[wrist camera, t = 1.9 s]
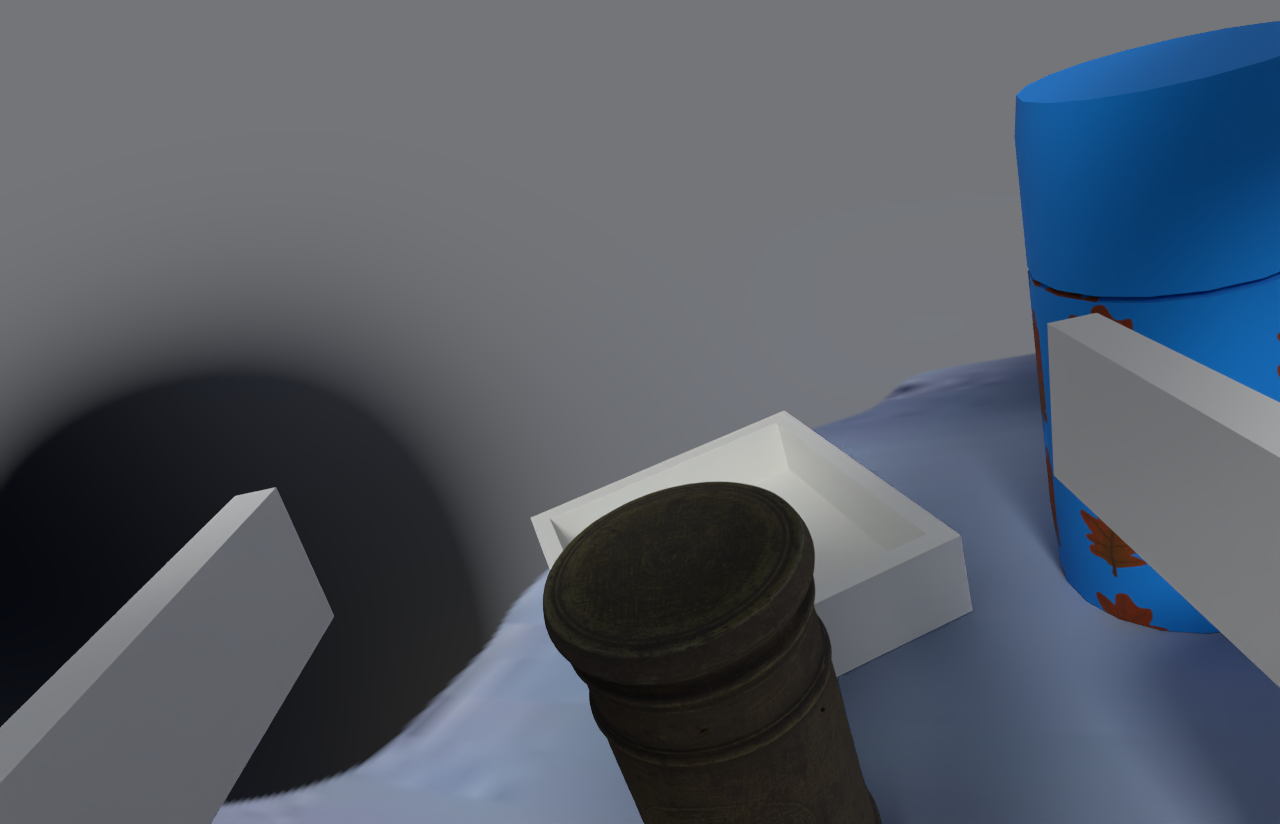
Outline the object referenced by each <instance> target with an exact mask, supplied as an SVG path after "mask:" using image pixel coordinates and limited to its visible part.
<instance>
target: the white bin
mask: <svg viewBox="0 0 1280 824" xmlns="http://www.w3.org/2000/svg"><path fill="white" fill-rule="evenodd" d="M700 482H735V483H743V484H748V485H752V486H756V487H760V488H763V489H766V490H769V491H771V492H773V493H775V494H777V495H778V496H780V497H781V498H783V499H784V500H785V501H786V502H788V503H789V504H790V505H791V506H792V507H793V508H794V509H795V510H796V512H797V513H798V514H799V515H800V517H801V518H802V519H803V521H804V522H805V524H806V526H807V528H808V530H809V532H810V534H811V537H812V540H813V544H814V550H815V567H814V573H813V576H814V581H815V601H814V607H815V611H816V613H817V614H818V616H819V617H820V619H821V620H822V622H823V623H824V625H825V627H826V629H827V632H828V635H829V638H830V642H831V648H832V662H833V666H834V670H835V673H836V677H838V676H840V675H842V674H844V673H846V672H848V671H850V670H852V669H854V668H856V667H859V666H861V665H863V664H865V663H867V662H869V661H871V660H873V659H875V658H877V657H879V656H881V655H883V654H885V653H887V652H889V651H891V650H893V649H895V648H897V647H899V646H901V645H904V644H906V643H908V642H910V641H912V640H914V639H916V638H918V637H920V636H922V635H924V634H926V633H928V632H930V631H932V630H934V629H936V628H938V627H940V626H942V625H944V624H946V623H949V622H951V621H953V620H955V619H957V618H959V617H961V616H963V615H965V614H967V613H969V612H971V611H973V609H972V603H971V596H970V590H969V583H968V577H967V571H966V564H965V558H964V551H963V545H962V538H961V535H960V534H959V533H957V532H956V531H954V530H953V529H951V528H950V527H949V526H947V525H946V524H944V523H943V522H942V521H940V520H939V519H937V518H936V517H934V516H933V515H932V514H930V513H929V512H927V511H926V510H924V509H923V508H922V507H920V506H919V505H917V504H916V503H915V502H913V501H912V500H910V499H909V498H907V497H906V496H905V495H903V494H902V493H900V492H899V491H898V490H896V489H895V488H893V487H892V486H890V485H889V484H888V483H886V482H885V481H883V480H882V479H881V478H879V477H878V476H876V475H875V474H873V473H872V472H871V471H869V470H868V469H866V468H865V467H864V466H862V465H861V464H859V463H858V462H856V461H855V460H854V459H852V458H851V457H849V456H848V455H846V454H845V453H844V452H842V451H841V450H839V449H838V448H837V447H835V446H834V445H832V444H831V443H829V442H828V441H827V440H825V439H824V438H822V437H821V436H820V435H818V434H817V433H815V432H814V431H812V430H811V429H810V428H808V427H807V426H805V425H804V424H803V423H801V422H800V421H798V420H797V419H795V418H794V417H792V416H791V415H790V414H788V413H787V412H785V411H782V412H780V413H777V414H775V415H773V416H770V417H768V418H765V419H763V420H761V421H759V422H756V423H754V424H752V425H749V426H747V427H744V428H742V429H739V430H737V431H735V432H732V433H730V434H728V435H725V436H723V437H721V438H718V439H716V440H714V441H711V442H709V443H706V444H704V445H702V446H699V447H697V448H695V449H692V450H690V451H687V452H685V453H683V454H680V455H678V456H676V457H673V458H671V459H669V460H666V461H664V462H661V463H659V464H657V465H654V466H652V467H650V468H647V469H645V470H643V471H640V472H638V473H635V474H633V475H631V476H629V477H626V478H624V479H621V480H619V481H617V482H614V483H612V484H610V485H607V486H605V487H602V488H600V489H598V490H595V491H593V492H591V493H588V494H586V495H584V496H581V497H579V498H577V499H574V500H572V501H569V502H567V503H565V504H562V505H560V506H557V507H555V508H553V509H550V510H548V511H546V512H543V513H541V514H539V515H536V516H534V517H532V518H531V520H532V523H533V526H534V528H535V531H536V534H537V536H538V539H539V542H540V544H541V547H542V550H543V553H544V555H545V558H546V560H547V563H548V566H549V569H550V570H551V568H552V566H553V564H554V563H555V561H556V560H557V558H558V557H559V555H560V554H561V553H562V551H563V550H564V549H565V548H566V546H567V545H568V544H569V543H570V542H571V541H572V540H573V539H574V538H575V537H576V536H577V535H578V534H579V533H581V532H582V531H583V530H584V529H585V528H586V527H588V526H589V525H590V524H592V523H593V522H594V521H596V520H598V519H599V518H601V517H602V516H604V515H606V514H607V513H609V512H611V511H613V510H614V509H616V508H618V507H620V506H622V505H624V504H626V503H628V502H630V501H632V500H635V499H637V498H639V497H642V496H645V495H647V494H650V493H653V492H656V491H659V490H663V489H667V488H671V487H675V486H680V485H685V484H691V483H700Z"/></svg>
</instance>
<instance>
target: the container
mask: <svg viewBox="0 0 1280 824" xmlns="http://www.w3.org/2000/svg"><path fill="white" fill-rule="evenodd" d="M814 567H815V550H814V544H813V540H812V537H811V534H810V532H809V530H808V528H807V526H806V524H805V522H804V521H803V519H802V518H801V517H800V515H799V514H798V513H797V512H796V510H795V509H794V508H793V507H792V506H791V505H790V504H789V503H788V502H786V501H785V500H784V499H783V498H781V497H780V496H778V495H777V494H775V493H773V492H771V491H769V490H766V489H763V488H760V487H756V486H752V485H748V484H743V483H735V482H700V483H691V484H685V485H680V486H675V487H671V488H667V489H663V490H659V491H656V492H653V493H650V494H647V495H645V496H642V497H639V498H637V499H635V500H632V501H630V502H628V503H626V504H624V505H622V506H620V507H618V508H616V509H614V510H613V511H611V512H609V513H607V514H606V515H604V516H602V517H601V518H599V519H598V520H596V521H594V522H593V523H592V524H590V525H589V526H588V527H586V528H585V529H584V530H583V531H582V532H581V533H579V534H578V535H577V536H576V537H575V538H574V539H573V540H572V541H571V542H570V543H569V544H568V545H567V546H566V548H565V549H564V550H563V551H562V553H561V554H560V555H559V557H558V558H557V560H556V561H555V563H554V564H553V566H552V568H551V570H550V572H549V575H548V577H547V580H546V584H545V588H544V594H543V612H544V620H545V625H546V629H547V631H548V634H549V637H550V639H551V640H552V642H553V644H554V645H555V647H556V648H557V650H558V651H559V652H560V653H561V654H562V655H563V656H564V657H565V658H566V659H567V660H568V661H569V662H570V663H571V665H572V666H573V668H574V670H575V671H576V673H577V675H578V676H579V677H580V678H581V679H582V680H583V681H584V682H585V683H586V684H587V685H588V688H589V700H590V706H591V710H592V714H593V717H594V719H595V721H596V723H597V725H598V727H599V729H600V730H601V731H602V733H603V734H604V735H605V736H606V737H607V739H608V741H609V744H610V747H611V749H612V751H613V753H614V756H615V758H616V760H617V763H618V765H619V767H620V769H621V772H622V774H623V776H624V779H625V781H626V783H627V785H628V788H629V790H630V792H631V794H632V797H633V799H634V801H635V803H636V806H637V808H638V811H639V813H640V815H641V818H642V820H643V822H644V824H882V823H881V819H880V815H879V812H878V809H877V806H876V804H875V801H874V799H873V797H872V795H871V794H870V792H869V791H868V789H867V787H866V786H865V782H864V779H863V776H862V773H861V769H860V765H859V761H858V757H857V754H856V750H855V746H854V742H853V739H852V735H851V732H850V728H849V724H848V720H847V716H846V712H845V708H844V704H843V700H842V696H841V692H840V688H839V684H838V680H837V677H836V673H835V670H834V666H833V662H832V648H831V642H830V638H829V635H828V632H827V629H826V627H825V625H824V623H823V622H822V620H821V619H820V617H819V616H818V614H817V613H816V611H815V607H814V601H815V581H814V576H813V573H814Z"/></svg>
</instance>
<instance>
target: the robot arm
mask: <svg viewBox="0 0 1280 824" xmlns="http://www.w3.org/2000/svg"><path fill="white" fill-rule="evenodd" d="M1047 327H1048V350H1049V374H1050V397H1051V421H1052V444H1053V468H1054V476H1055V477H1056V478H1057V479H1058V480H1059V481H1060V482H1061V483H1063V484H1064V485H1065V486H1066V487H1067V488H1068V489H1069V490H1070V491H1071V492H1072V493H1073V494H1074V495H1075V496H1076V497H1077V498H1078V499H1080V500H1081V501H1082V502H1083V503H1084V504H1085V505H1086V506H1087V507H1088V508H1089V509H1090V510H1091V511H1092V512H1093V513H1094V514H1095V515H1097V516H1098V517H1099V518H1100V519H1101V520H1102V521H1103V522H1104V523H1105V524H1106V525H1107V526H1108V527H1109V528H1110V529H1111V530H1112V531H1114V532H1115V533H1116V534H1117V535H1118V536H1119V537H1120V538H1121V539H1122V540H1123V541H1124V542H1125V543H1126V544H1127V545H1128V546H1130V547H1131V548H1132V549H1133V550H1134V551H1135V552H1136V553H1137V554H1138V555H1139V556H1140V557H1141V558H1142V559H1143V560H1144V561H1145V562H1147V563H1148V564H1149V565H1150V566H1151V567H1152V568H1153V569H1154V570H1155V571H1156V572H1157V573H1158V574H1159V575H1160V576H1161V577H1162V578H1164V579H1165V580H1166V581H1167V582H1168V583H1169V584H1170V585H1171V586H1172V587H1173V588H1174V589H1175V590H1176V591H1177V592H1178V593H1179V594H1181V595H1182V596H1183V597H1184V598H1185V599H1186V600H1187V601H1188V602H1189V603H1190V604H1191V605H1192V606H1193V607H1194V608H1195V609H1196V610H1198V611H1199V612H1200V613H1201V614H1202V615H1203V616H1204V617H1205V618H1206V619H1207V620H1208V621H1209V622H1210V623H1211V624H1212V625H1213V626H1215V627H1216V628H1217V629H1218V630H1219V631H1220V632H1221V633H1222V634H1223V635H1224V636H1225V637H1226V638H1227V639H1228V640H1229V641H1230V642H1232V643H1233V644H1234V645H1235V646H1236V647H1237V648H1238V649H1239V650H1240V651H1241V652H1242V653H1243V654H1244V655H1245V656H1246V657H1248V658H1249V659H1250V660H1251V661H1252V662H1253V663H1254V664H1255V665H1256V666H1257V667H1258V668H1259V669H1260V670H1261V671H1262V672H1263V673H1265V674H1266V675H1267V676H1268V677H1269V678H1270V679H1271V680H1272V681H1273V682H1274V683H1275V684H1276V685H1277V686H1278V687H1279V688H1280V402H1278V401H1276V400H1274V399H1272V398H1270V397H1268V396H1265V395H1263V394H1261V393H1259V392H1257V391H1255V390H1253V389H1251V388H1249V387H1247V386H1245V385H1243V384H1241V383H1239V382H1237V381H1235V380H1233V379H1231V378H1229V377H1227V376H1225V375H1223V374H1221V373H1219V372H1217V371H1215V370H1212V369H1210V368H1208V367H1206V366H1204V365H1202V364H1200V363H1198V362H1196V361H1194V360H1192V359H1190V358H1188V357H1186V356H1184V355H1182V354H1180V353H1178V352H1176V351H1174V350H1172V349H1170V348H1168V347H1166V346H1164V345H1162V344H1159V343H1157V342H1155V341H1153V340H1151V339H1149V338H1147V337H1145V336H1143V335H1141V334H1139V333H1137V332H1135V331H1133V330H1131V329H1129V328H1127V327H1125V326H1123V325H1121V324H1119V323H1117V322H1115V321H1113V320H1111V319H1109V318H1107V317H1104V316H1102V315H1100V314H1098V313H1093V314H1089V315H1084V316H1079V317H1075V318H1070V319H1065V320H1060V321H1056V322H1051V323H1047ZM333 617H334V615H333V613H332V611H331V608H330V606H329V604H328V602H327V599H326V597H325V595H324V593H323V591H322V588H321V586H320V584H319V582H318V579H317V577H316V575H315V573H314V570H313V568H312V566H311V564H310V562H309V559H308V557H307V555H306V553H305V550H304V548H303V546H302V544H301V542H300V539H299V537H298V535H297V533H296V531H295V529H294V526H293V524H292V522H291V519H290V517H289V515H288V513H287V510H286V508H285V506H284V504H283V502H282V500H281V497H280V495H279V493H278V491H277V488H271V489H266V490H262V491H257V492H252V493H247V494H243V495H238V496H235V497H234V498H233V499H232V500H231V501H230V502H229V503H228V504H227V505H226V506H225V507H224V508H223V509H222V510H221V511H220V512H219V513H218V514H216V515H215V516H214V517H213V519H211V520H210V521H209V522H208V523H207V524H206V525H205V526H204V527H203V528H202V529H201V530H200V531H199V532H198V533H197V534H196V535H195V536H194V538H192V539H191V540H190V541H189V542H188V543H187V544H186V545H185V546H184V547H183V548H182V549H181V550H180V551H179V552H178V553H177V554H176V555H175V556H174V557H173V558H172V559H171V560H170V561H169V562H168V563H167V564H166V565H165V566H164V567H163V568H162V569H161V570H160V571H159V572H158V573H157V574H156V575H155V576H154V577H153V578H152V579H151V580H150V581H149V582H147V584H146V585H144V586H143V588H141V590H139V591H138V592H137V593H136V594H135V595H134V596H133V597H132V598H131V599H130V600H129V601H128V602H127V603H126V604H125V605H124V606H123V607H122V608H121V609H120V610H119V611H118V612H117V613H116V614H115V615H114V616H113V617H112V618H111V619H110V620H109V621H108V622H107V623H106V624H105V625H104V626H103V627H102V628H101V629H100V630H99V631H98V632H97V633H96V634H95V635H94V636H93V637H92V638H91V639H90V640H89V641H88V642H87V643H86V644H85V645H84V646H83V647H82V648H81V649H80V650H79V651H78V652H76V654H75V655H73V656H72V657H71V658H70V660H68V661H67V662H66V663H65V664H64V665H63V666H62V667H61V668H60V669H59V670H58V671H57V672H56V673H55V674H54V675H53V676H52V677H51V678H50V679H49V680H48V681H47V682H46V683H45V684H44V685H43V686H42V687H41V688H40V689H39V690H38V691H37V692H36V693H35V694H34V695H33V696H32V697H31V698H30V699H29V700H28V701H27V702H26V703H25V704H24V705H23V706H22V707H21V708H20V709H19V710H18V711H17V712H16V713H15V714H14V715H13V716H12V717H11V718H10V719H9V720H8V721H6V723H4V724H3V725H2V727H1V728H0V824H211V823H212V821H213V819H214V818H215V816H216V814H217V812H218V811H219V809H220V807H221V806H222V804H223V802H224V801H225V799H226V797H227V796H228V794H229V792H230V790H231V789H232V787H233V785H234V784H235V782H236V780H237V779H238V777H239V775H240V774H241V772H242V770H243V769H244V767H245V765H246V764H247V762H248V760H249V759H250V757H251V755H252V753H253V752H254V750H255V748H256V747H257V745H258V743H259V742H260V740H261V738H262V737H263V735H264V733H265V732H266V730H267V728H268V727H269V725H270V723H271V722H272V720H273V718H274V716H275V715H276V713H277V711H278V710H279V708H280V706H281V704H282V703H283V701H284V700H285V698H286V696H287V694H288V693H289V691H290V690H291V688H292V686H293V684H294V683H295V681H296V679H297V678H298V676H299V674H300V673H301V671H302V669H303V668H304V666H305V664H306V663H307V661H308V659H309V657H310V656H311V654H312V652H313V651H314V649H315V647H316V646H317V644H318V642H319V641H320V639H321V637H322V636H323V634H324V632H325V631H326V629H327V627H328V626H329V624H330V622H331V620H332V619H333Z"/></svg>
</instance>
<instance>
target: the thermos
mask: <svg viewBox="0 0 1280 824" xmlns="http://www.w3.org/2000/svg"><path fill="white" fill-rule="evenodd" d="M1015 146H1016V156H1017V166H1018V176H1019V186H1020V197H1021V207H1022V217H1023V227H1024V236H1025V247H1026V258H1027V266H1028V268H1029V270H1028V278H1029V288H1030V298H1031V308H1032V318H1033V329H1034V339H1035V349H1036V360H1037V370H1038V380H1039V390H1040V400H1041V411H1042V421H1043V431H1044V441H1045V451H1046V462H1047V472H1048V482H1049V492H1050V502H1051V508H1052V514H1053V519H1054V525H1055V531H1056V537H1057V542H1058V548H1059V554H1060V560H1061V563H1062V566H1063V569H1064V573H1065V576H1066V579H1067V581H1068V582H1069V583H1070V584H1071V585H1072V586H1073V587H1074V589H1075V590H1076V591H1077V592H1078V593H1079V594H1080V595H1081V596H1082V597H1083V598H1084V599H1085V600H1086V601H1087V602H1089V603H1091V604H1093V605H1095V606H1096V607H1098V608H1100V609H1102V610H1104V611H1106V612H1108V613H1109V614H1111V615H1113V616H1115V617H1117V618H1119V619H1121V620H1125V621H1129V622H1132V623H1136V624H1140V625H1143V626H1147V627H1151V628H1154V629H1158V630H1162V631H1176V632H1191V633H1205V634H1209V633H1216V632H1220V631H1219V630H1218V629H1217V628H1216V627H1215V626H1213V625H1212V624H1211V623H1210V622H1209V621H1208V620H1207V619H1206V618H1205V617H1204V616H1203V615H1202V614H1201V613H1200V612H1199V611H1198V610H1196V609H1195V608H1194V607H1193V606H1192V605H1191V604H1190V603H1189V602H1188V601H1187V600H1186V599H1185V598H1184V597H1183V596H1182V595H1181V594H1179V593H1178V592H1177V591H1176V590H1175V589H1174V588H1173V587H1172V586H1171V585H1170V584H1169V583H1168V582H1167V581H1166V580H1165V579H1164V578H1162V577H1161V576H1160V575H1159V574H1158V573H1157V572H1156V571H1155V570H1154V569H1153V568H1152V567H1151V566H1150V565H1149V564H1148V563H1147V562H1145V561H1144V560H1143V559H1142V558H1141V557H1140V556H1139V555H1138V554H1137V553H1136V552H1135V551H1134V550H1133V549H1132V548H1131V547H1130V546H1128V545H1127V544H1126V543H1125V542H1124V541H1123V540H1122V539H1121V538H1120V537H1119V536H1118V535H1117V534H1116V533H1115V532H1114V531H1112V530H1111V529H1110V528H1109V527H1108V526H1107V525H1106V524H1105V523H1104V522H1103V521H1102V520H1101V519H1100V518H1099V517H1098V516H1097V515H1095V514H1094V513H1093V512H1092V511H1091V510H1090V509H1089V508H1088V507H1087V506H1086V505H1085V504H1084V503H1083V502H1082V501H1081V500H1080V499H1078V498H1077V497H1076V496H1075V495H1074V494H1073V493H1072V492H1071V491H1070V490H1069V489H1068V488H1067V487H1066V486H1065V485H1064V484H1063V483H1061V482H1060V481H1059V480H1058V479H1057V478H1056V477H1055V476H1054V468H1053V444H1052V421H1051V397H1050V374H1049V350H1048V327H1047V323H1051V322H1056V321H1060V320H1065V319H1070V318H1075V317H1079V316H1084V315H1089V314H1093V313H1098V314H1100V315H1102V316H1104V317H1107V318H1109V319H1111V320H1113V321H1115V322H1117V323H1119V324H1121V325H1123V326H1125V327H1127V328H1129V329H1131V330H1133V331H1135V332H1137V333H1139V334H1141V335H1143V336H1145V337H1147V338H1149V339H1151V340H1153V341H1155V342H1157V343H1159V344H1162V345H1164V346H1166V347H1168V348H1170V349H1172V350H1174V351H1176V352H1178V353H1180V354H1182V355H1184V356H1186V357H1188V358H1190V359H1192V360H1194V361H1196V362H1198V363H1200V364H1202V365H1204V366H1206V367H1208V368H1210V369H1212V370H1215V371H1217V372H1219V373H1221V374H1223V375H1225V376H1227V377H1229V378H1231V379H1233V380H1235V381H1237V382H1239V383H1241V384H1243V385H1245V386H1247V387H1249V388H1251V389H1253V390H1255V391H1257V392H1259V393H1261V394H1263V395H1265V396H1268V397H1270V398H1272V399H1274V400H1276V401H1278V402H1280V21H1277V22H1268V23H1260V24H1254V25H1246V26H1240V27H1233V28H1226V29H1220V30H1216V31H1210V32H1205V33H1200V34H1195V35H1190V36H1185V37H1180V38H1175V39H1171V40H1166V41H1162V42H1158V43H1154V44H1150V45H1146V46H1142V47H1138V48H1133V49H1129V50H1126V51H1122V52H1119V53H1115V54H1112V55H1108V56H1105V57H1101V58H1098V59H1094V60H1091V61H1088V62H1084V63H1081V64H1078V65H1076V66H1073V67H1070V68H1068V69H1064V70H1062V71H1059V72H1056V73H1053V74H1050V75H1048V76H1046V77H1044V78H1042V79H1040V80H1038V81H1036V82H1034V83H1031V84H1029V85H1027V86H1026V87H1025V88H1023V90H1021V91H1020V92H1019V93H1018V94H1017V95H1016V116H1015Z"/></svg>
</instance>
